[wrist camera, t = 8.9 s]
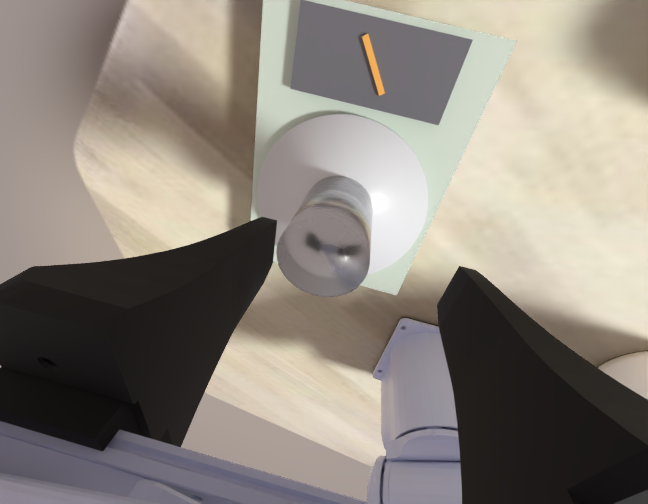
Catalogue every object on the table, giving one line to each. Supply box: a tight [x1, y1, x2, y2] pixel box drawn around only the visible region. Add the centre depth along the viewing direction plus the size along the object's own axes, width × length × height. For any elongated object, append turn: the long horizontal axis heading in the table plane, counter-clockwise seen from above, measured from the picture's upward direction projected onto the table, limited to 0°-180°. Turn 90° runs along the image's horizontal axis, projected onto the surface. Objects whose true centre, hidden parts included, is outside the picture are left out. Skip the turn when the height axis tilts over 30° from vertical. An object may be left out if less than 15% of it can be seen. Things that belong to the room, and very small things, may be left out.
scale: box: [250, 0, 516, 295], centre depth 18 cm, size 16×12×3 cm
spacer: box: [276, 176, 373, 297], centre depth 15 cm, size 4×4×6 cm
